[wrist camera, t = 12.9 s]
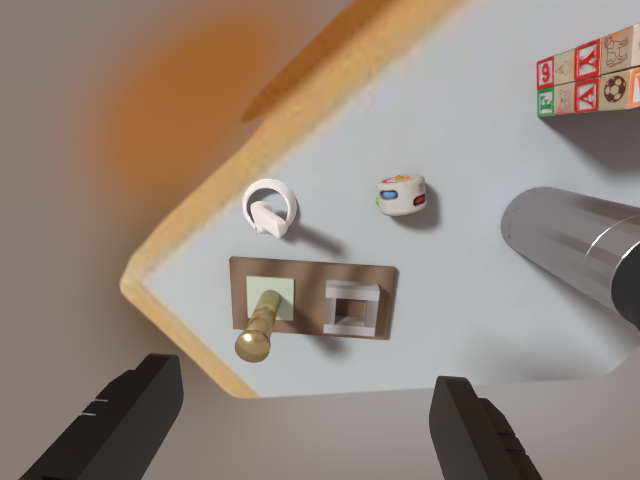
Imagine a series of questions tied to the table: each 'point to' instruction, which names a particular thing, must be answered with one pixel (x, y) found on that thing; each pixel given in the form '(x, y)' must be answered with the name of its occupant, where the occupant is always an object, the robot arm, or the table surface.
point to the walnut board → (321, 296)
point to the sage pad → (279, 285)
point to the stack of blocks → (592, 76)
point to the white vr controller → (270, 209)
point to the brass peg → (259, 329)
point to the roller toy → (401, 195)
